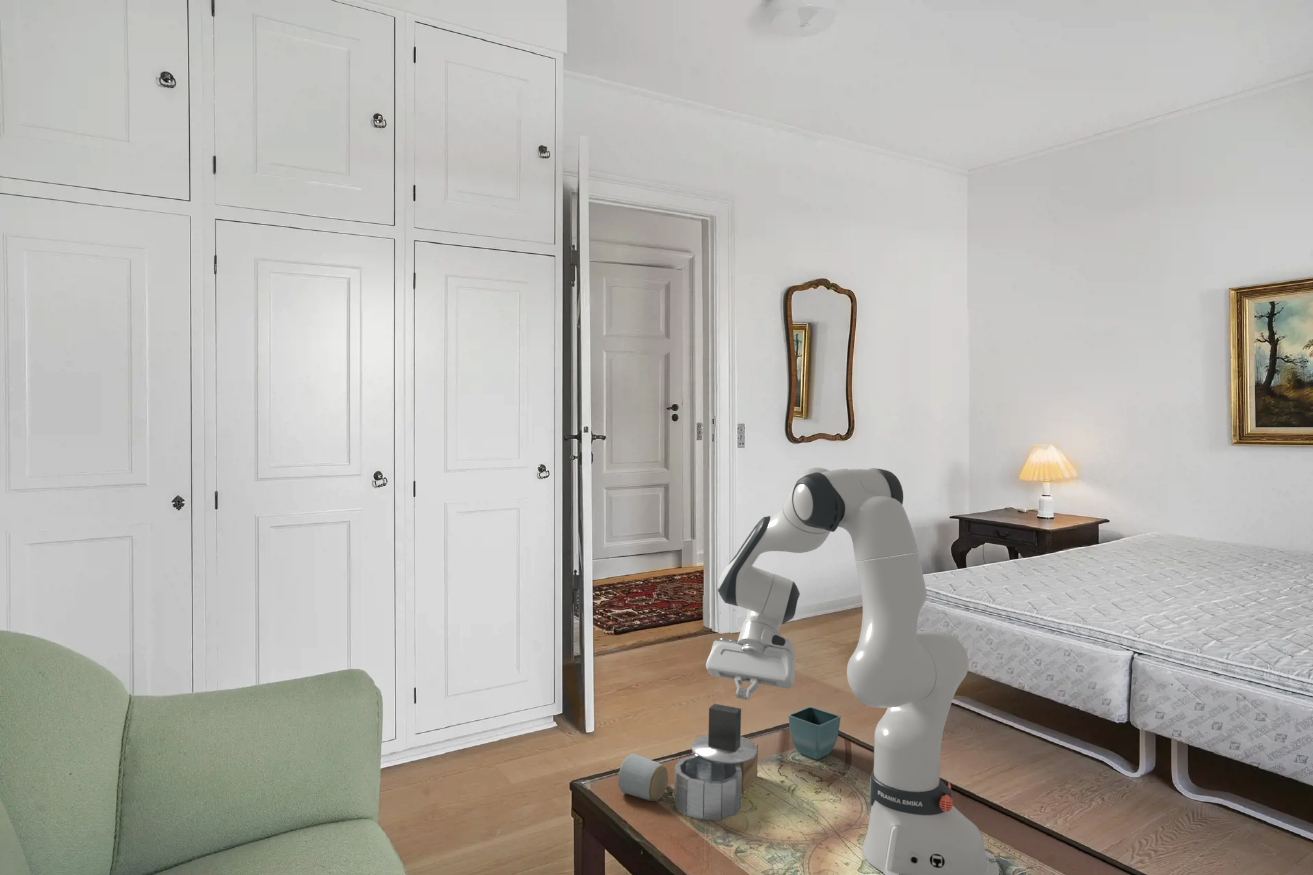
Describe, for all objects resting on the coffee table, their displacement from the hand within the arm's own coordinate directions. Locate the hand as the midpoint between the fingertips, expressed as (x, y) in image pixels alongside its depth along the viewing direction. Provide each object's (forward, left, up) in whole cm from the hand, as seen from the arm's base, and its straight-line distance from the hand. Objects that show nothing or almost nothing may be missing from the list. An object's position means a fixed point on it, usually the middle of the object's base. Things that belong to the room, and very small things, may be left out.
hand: (742, 697), depth 173 cm
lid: (0, +10, -8) cm, 13 cm away
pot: (0, +19, -15) cm, 24 cm away
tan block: (0, +8, -15) cm, 17 cm away
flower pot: (-13, -14, -15) cm, 24 cm away
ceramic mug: (+13, +21, -15) cm, 29 cm away
